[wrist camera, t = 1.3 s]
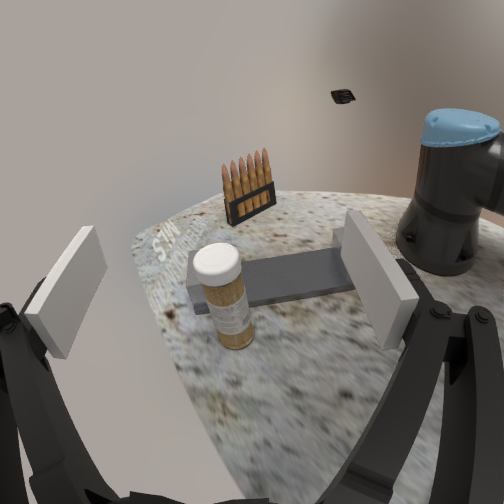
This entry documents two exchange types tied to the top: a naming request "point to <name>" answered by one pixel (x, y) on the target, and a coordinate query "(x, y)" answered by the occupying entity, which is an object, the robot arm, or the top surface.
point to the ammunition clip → (248, 189)
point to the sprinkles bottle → (225, 293)
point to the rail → (284, 276)
